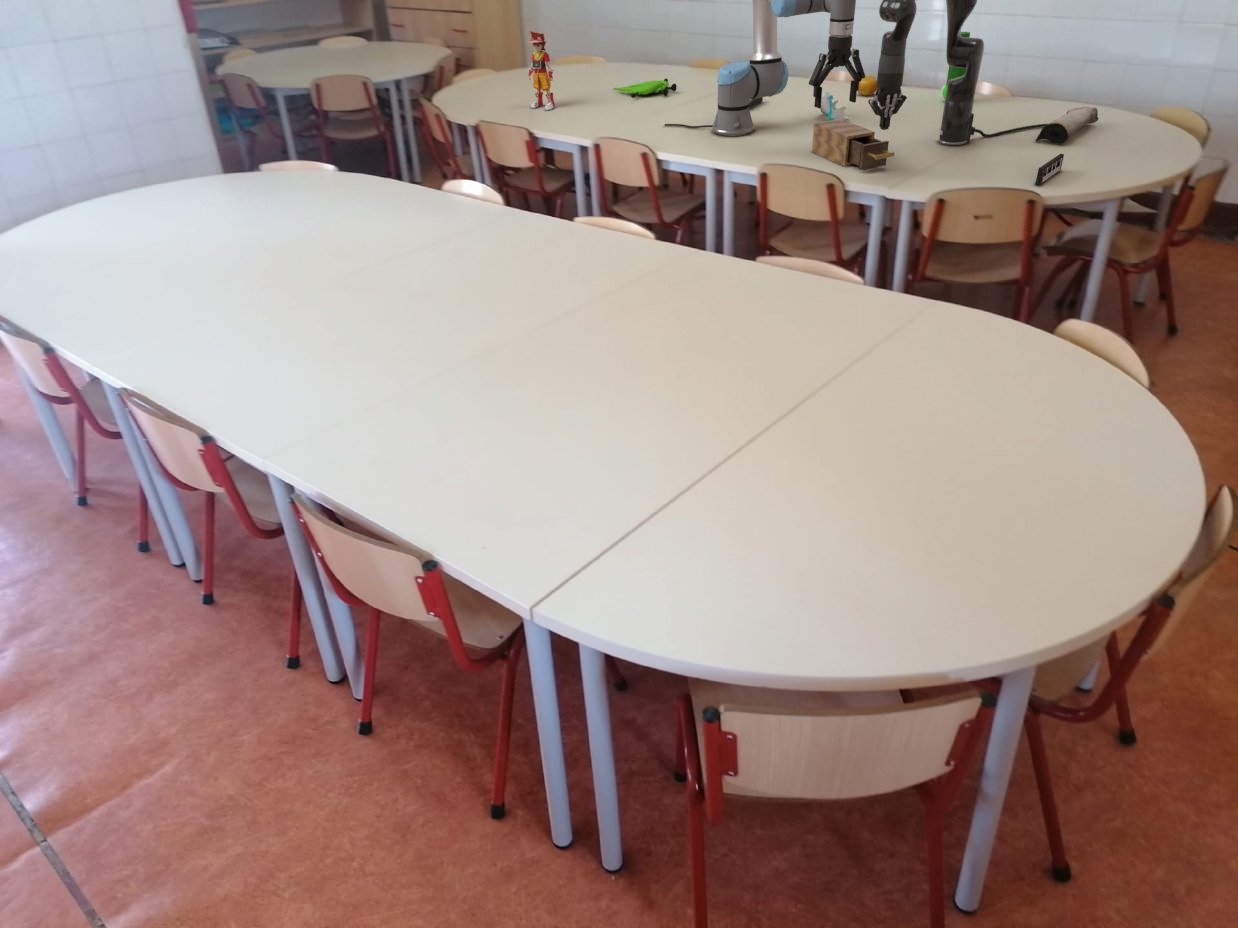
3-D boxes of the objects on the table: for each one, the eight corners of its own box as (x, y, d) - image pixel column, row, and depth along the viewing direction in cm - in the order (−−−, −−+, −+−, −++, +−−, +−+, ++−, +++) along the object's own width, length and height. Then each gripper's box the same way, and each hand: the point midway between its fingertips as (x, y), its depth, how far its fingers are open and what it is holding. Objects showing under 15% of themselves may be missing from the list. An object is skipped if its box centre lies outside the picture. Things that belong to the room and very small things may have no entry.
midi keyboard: (1039, 185, 269) (1043, 168, 266) (1035, 184, 270) (1038, 168, 267) (1060, 170, 279) (1064, 154, 277) (1056, 169, 280) (1060, 153, 277)
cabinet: (871, 161, 298) (874, 131, 292) (844, 166, 295) (847, 136, 289) (838, 147, 313) (840, 118, 308) (811, 151, 310) (813, 123, 305)
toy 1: (525, 109, 381) (517, 32, 364) (534, 104, 388) (527, 28, 371) (550, 110, 377) (543, 32, 360) (559, 105, 384) (553, 28, 367)
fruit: (851, 87, 368) (863, 69, 365) (853, 91, 376) (865, 73, 373) (868, 99, 367) (880, 81, 364) (870, 102, 374) (882, 84, 371)
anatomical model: (812, 91, 345) (837, 84, 345) (815, 118, 351) (840, 111, 351) (822, 101, 333) (849, 93, 332) (825, 128, 339) (851, 121, 338)
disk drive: (747, 111, 360) (763, 102, 370) (747, 104, 359) (763, 95, 369) (724, 109, 365) (740, 100, 375) (724, 101, 363) (740, 93, 373)
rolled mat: (1064, 112, 323) (1089, 94, 314) (1078, 133, 323) (1104, 116, 315) (1031, 135, 305) (1057, 117, 297) (1046, 157, 306) (1072, 140, 298)
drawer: (896, 169, 286) (899, 145, 282) (871, 174, 283) (874, 150, 279) (853, 151, 305) (855, 128, 300) (829, 155, 302) (831, 132, 298)
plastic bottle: (973, 101, 354) (984, 32, 339) (955, 106, 349) (966, 36, 335) (952, 97, 361) (962, 29, 346) (934, 102, 356) (944, 33, 342)
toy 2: (686, 85, 398) (631, 84, 414) (685, 72, 395) (629, 72, 411) (651, 104, 381) (596, 103, 397) (650, 92, 378) (594, 91, 394)
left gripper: (813, 41, 281) (808, 112, 293) (880, 32, 288) (873, 101, 300) (800, 38, 287) (796, 107, 299) (866, 29, 294) (860, 97, 306)
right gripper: (879, 75, 265) (873, 135, 275) (917, 69, 268) (909, 128, 278) (865, 70, 271) (859, 129, 280) (901, 65, 274) (894, 123, 284)
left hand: (835, 104), depth 300 cm, fingers open, 13 cm apart
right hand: (884, 129), depth 279 cm, fingers closed
